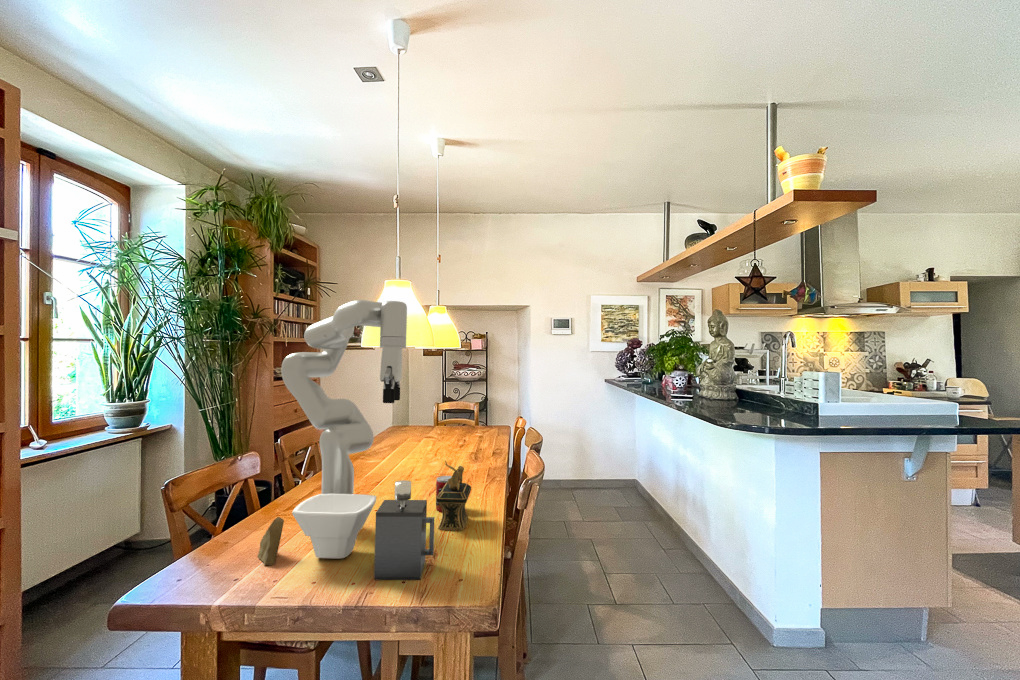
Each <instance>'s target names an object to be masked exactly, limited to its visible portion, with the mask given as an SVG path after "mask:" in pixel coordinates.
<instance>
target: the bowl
mask: <svg viewBox="0 0 1020 680" xmlns="http://www.w3.org/2000/svg"><path fill="white" fill-rule="evenodd" d="M376 502H377V496H376V495H373V494H364V493H363V494H360V493H359V494H357V493H353V494H321V493H319V494H316V495H313V496H311V497H309V498H307V499H305V500H304V501H303V500H302V501H301V502H300V503H299V504H297V505H296V506H295V507H294V509H293V510H292V512H291V514H292V516H293V517H294V519H295V521H296V522H297V524H298V526H299V528H300V529H301V530H302V532H303V533H304V535H305V536H307V537H309V538H310V541H311V543H312V548H313V552H314V555H315V558H318V559H319V558H320V559H344V558H346V557H348V556H350V554H351V553H352V552H353V550H354V548H355V544H356V542H357V537H358V535H359V532H360V531H361V530H362V528H363V527H364V525H365V524H366V521H367V519H368V518H369V516H370V515H371V514H370V513H371V512H372V510H373V508H374V506H375V504H376Z"/></svg>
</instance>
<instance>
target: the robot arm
mask: <svg viewBox="0 0 1020 680" xmlns="http://www.w3.org/2000/svg"><path fill="white" fill-rule="evenodd" d="M407 319H408V305H407V303H406V302H404V301H399V300H398V301H397V300H386V301H383V302H380V301H373V300H365V299H355V300H352V301H350V302H347V303H345V304H342V305H340V306H339V307H338V308H336V310H335V312H334V313H333V316H330V317H326V318H324V319H322V320H320V321H317V322H315V323H312V324H311V325H309V326H307V328H306V329H305V331H304V332H303V333H304V334H303V338H304V341H305V343H306V344H307V345H308V347H311V348H313V349H316V350H317V349H318V350H323V351H322V352H317V351H316V352H311V351H310V352H309V351H302V352H294V353H290V354H289V355H287V356H285V358H284V359H283V360H282V363H281V369H280V370H281V377H282V380H283V383H284V385H285V387H286V389H287V390H288V391H289V393H290V394H291V395H292V396H293V397H294V399H295V400H296V401H297V403H298V404H299V406H300V408H301V409H302V411H303V412H304V414H305V416H306V417H307V419H308V421H309V422H310V424H311V425H312V426H313V428H315V429H316V430H323V431H322V432H321V434H320V437H319V448H320V454H321V455H320V456H321V493H320V494H354V483H355V469H354V464H353V462H352V460H351V458H350V455H351V454H355V453H361V452H364V451H365V452H366V451H367V450H369V449H370V448H371V447H372V445H373V444H374V439H375V438H374V436H375V435H374V431H373V429H372V427H371V425H370V423H369V422H368V421H367V420H366V418H365V416H364V415H363V413H362V411H360V409H359V407H358V406H357V405H356V404H355V403H354V402H353V400H349V399H347V398H330V397H329V396H328V395H327V394H326V393H325V390H324V389H323V388H322V386H321V385H320V384H318V383H317V382H316V381H314V380H312V378H326V377H330V376H331V375H333V374H334V372H335V371H336V369H337V367H338V366H339V364H340V362H341V359H342V358H343V355H344V354H345V352H346V350H347V347H348V344H349V341H350V339H351V338H352V337H353V335H354V333H355V327H357V326H365V327H375V328H380V330H379V331H380V332H379V337H380V338H379V348H380V349H382V350H381V358H380V360H381V361H380V371H379V374H380V375H379V381H380V382H381V383H383V388H382V403H383V404H394V403H395V401H400V399H401V380H402V375H403V349H407V329H408V328H407V326H408V325H407V323H408V321H407Z"/></svg>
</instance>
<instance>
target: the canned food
mask: <svg viewBox="0 0 1020 680" xmlns="http://www.w3.org/2000/svg"><path fill="white" fill-rule="evenodd" d="M451 477H452V475H442V476H438V477H436V484H435V486H436V487H435V491H436V492H435V499H436V498H437V496H438V494H439V492H440V491H441V489H442V488H443V486H444V485H445V484H446V483H448V482H447V481H448V479H450V478H451ZM435 510H436V511H437V512H438V511H439V513H443V512H442V508H441V506H440V505H439V504H438V503H437V502H436V501H435Z"/></svg>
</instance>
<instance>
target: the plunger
mask: <svg viewBox="0 0 1020 680" xmlns="http://www.w3.org/2000/svg"><path fill="white" fill-rule="evenodd" d="M411 498H412V481H410V480H406V479H405V480H402V479H401V480H398V481H397V480H395V482H394V500H400V501H401V506H400V507H405V500H412V499H411Z"/></svg>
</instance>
